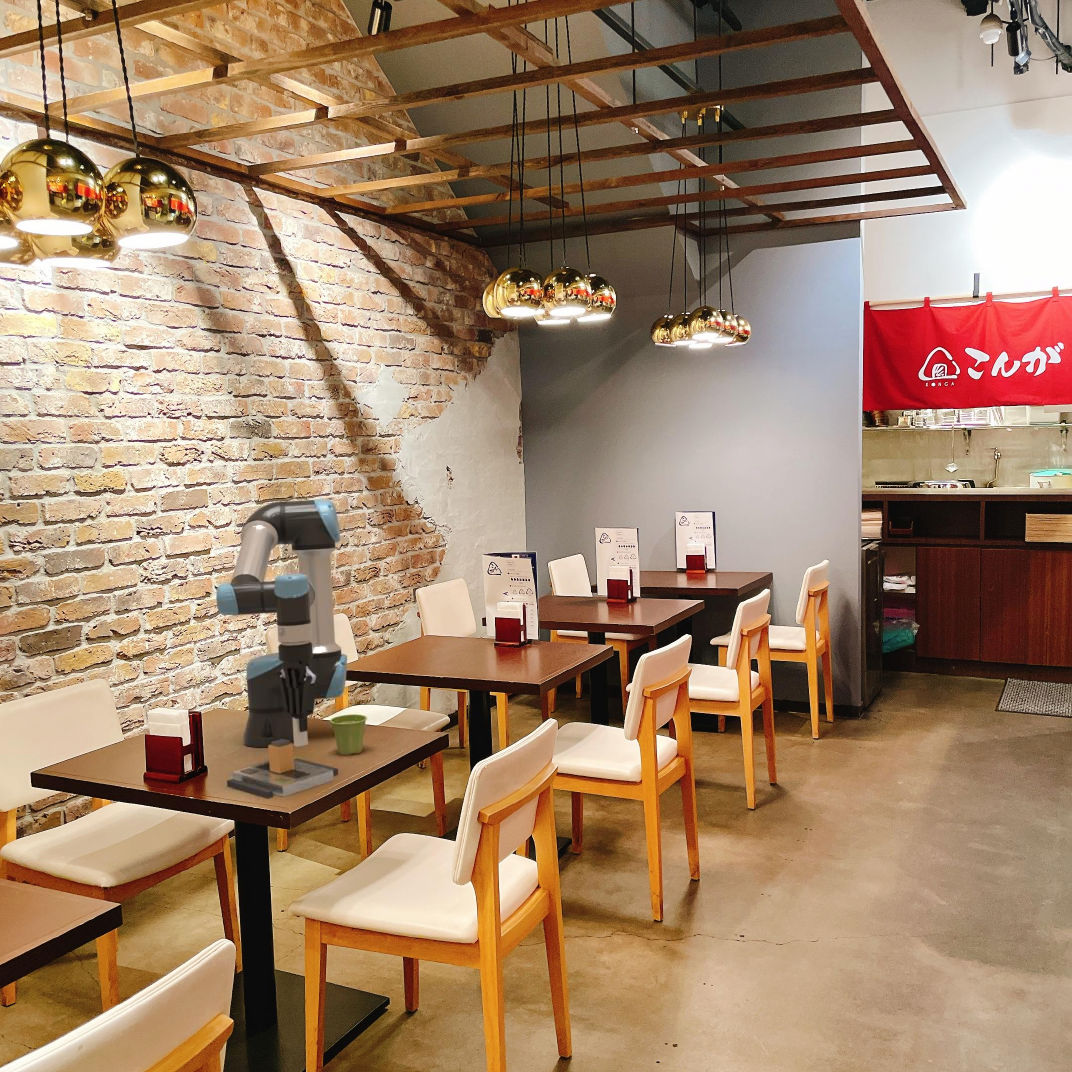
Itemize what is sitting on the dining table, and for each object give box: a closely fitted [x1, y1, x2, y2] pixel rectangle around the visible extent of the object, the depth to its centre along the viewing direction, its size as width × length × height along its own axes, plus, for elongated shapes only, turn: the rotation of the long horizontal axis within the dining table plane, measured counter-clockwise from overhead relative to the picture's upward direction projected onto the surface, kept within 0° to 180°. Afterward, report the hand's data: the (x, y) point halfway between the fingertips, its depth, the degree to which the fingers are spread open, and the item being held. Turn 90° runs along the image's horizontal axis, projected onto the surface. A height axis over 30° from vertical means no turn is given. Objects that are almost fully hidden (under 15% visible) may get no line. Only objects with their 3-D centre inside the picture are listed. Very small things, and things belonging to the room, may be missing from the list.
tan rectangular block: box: [267, 739, 295, 773], centre depth 234 cm, size 4×4×7 cm
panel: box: [231, 760, 335, 798], centre depth 235 cm, size 20×14×3 cm
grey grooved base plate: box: [226, 758, 339, 799], centre depth 235 cm, size 17×20×1 cm
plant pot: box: [329, 713, 368, 756], centre depth 257 cm, size 9×9×9 cm
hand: (300, 745), depth 228 cm, fingers closed
